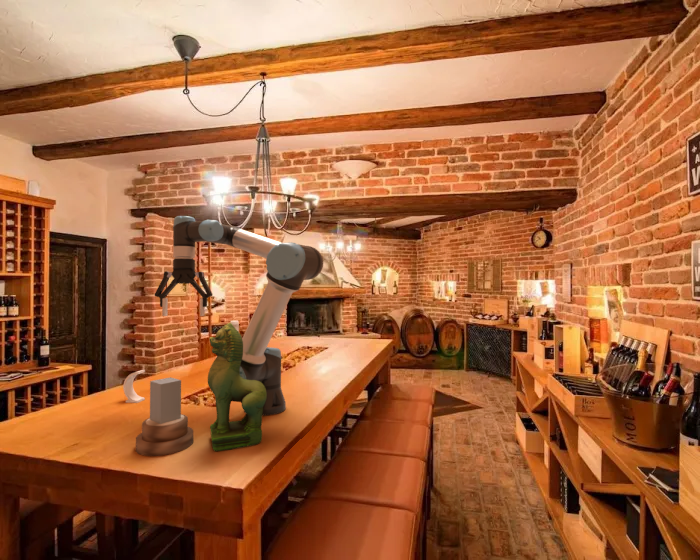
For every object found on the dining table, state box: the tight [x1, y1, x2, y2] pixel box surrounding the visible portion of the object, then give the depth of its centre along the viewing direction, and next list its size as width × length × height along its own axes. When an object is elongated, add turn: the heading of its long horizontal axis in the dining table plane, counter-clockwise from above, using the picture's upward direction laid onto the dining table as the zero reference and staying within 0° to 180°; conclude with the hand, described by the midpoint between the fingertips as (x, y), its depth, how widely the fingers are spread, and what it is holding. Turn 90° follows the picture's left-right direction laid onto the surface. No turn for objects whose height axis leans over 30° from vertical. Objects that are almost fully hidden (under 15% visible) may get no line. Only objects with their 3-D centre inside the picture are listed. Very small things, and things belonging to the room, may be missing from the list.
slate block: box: [149, 377, 182, 424], centre depth 114 cm, size 6×6×11 cm
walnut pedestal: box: [135, 413, 194, 457], centre depth 114 cm, size 15×15×7 cm
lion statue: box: [207, 322, 267, 452], centre depth 117 cm, size 14×17×35 cm
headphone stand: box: [122, 369, 146, 404], centre depth 157 cm, size 5×6×12 cm
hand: (183, 316), depth 146 cm, fingers open, 13 cm apart
